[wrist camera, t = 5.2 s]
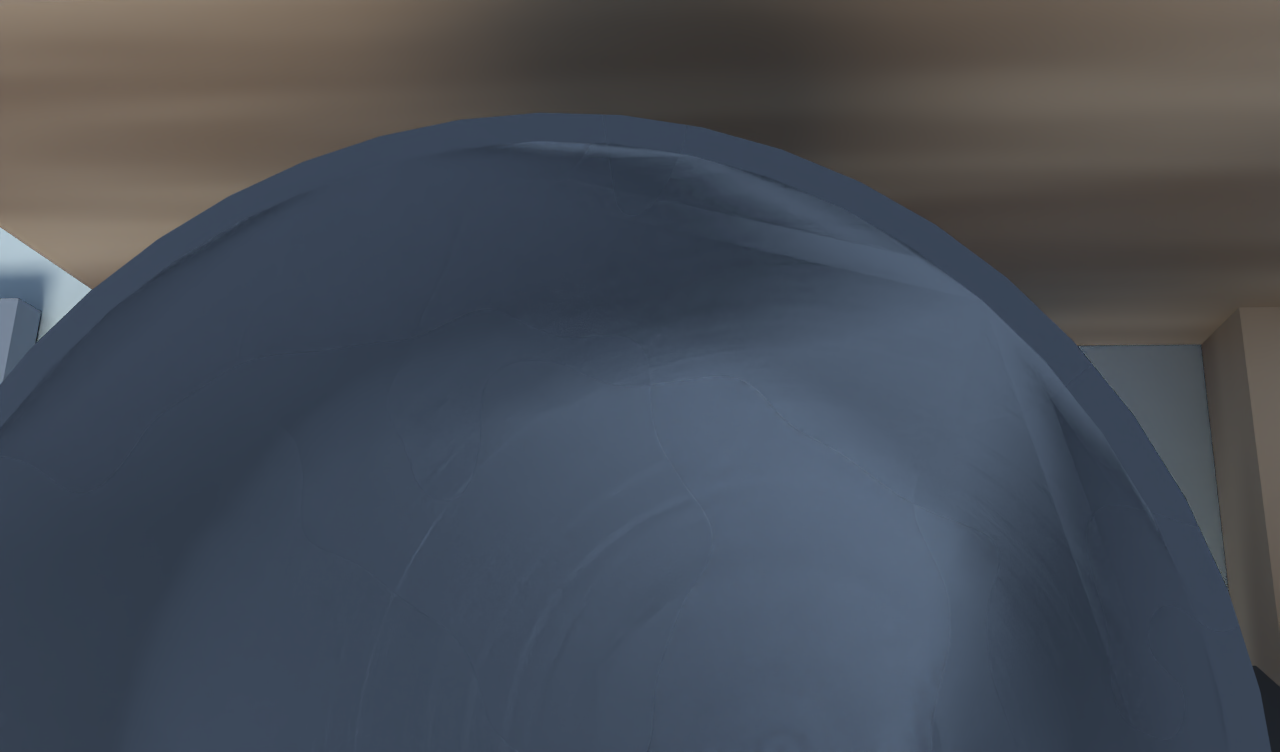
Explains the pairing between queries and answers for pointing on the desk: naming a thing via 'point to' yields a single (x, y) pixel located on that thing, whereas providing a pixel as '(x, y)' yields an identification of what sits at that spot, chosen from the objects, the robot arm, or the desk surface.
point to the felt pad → (16, 332)
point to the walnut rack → (753, 110)
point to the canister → (589, 477)
